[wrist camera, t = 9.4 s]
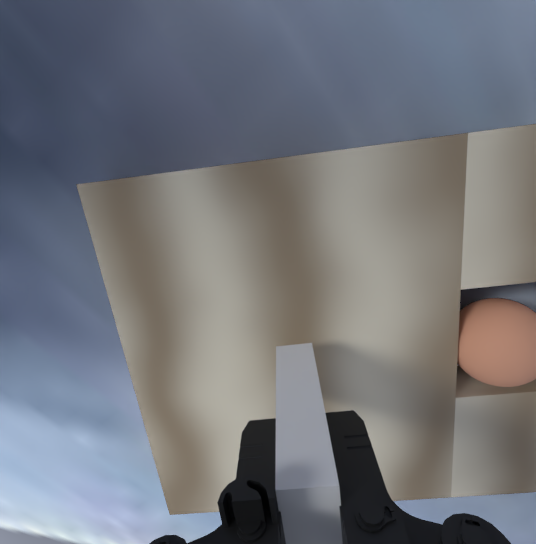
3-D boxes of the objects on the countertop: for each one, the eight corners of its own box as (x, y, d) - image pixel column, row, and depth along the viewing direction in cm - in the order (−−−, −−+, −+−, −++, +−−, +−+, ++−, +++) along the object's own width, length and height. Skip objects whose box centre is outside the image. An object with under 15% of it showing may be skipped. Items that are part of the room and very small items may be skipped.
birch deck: (182, 475, 21) (169, 514, 19) (106, 181, 16) (76, 184, 14) (585, 447, 20) (627, 486, 17) (650, 109, 14) (722, 99, 12)
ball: (436, 387, 16) (543, 420, 14) (439, 311, 15) (557, 331, 12) (457, 348, 19) (549, 369, 17) (461, 281, 18) (561, 292, 15)
